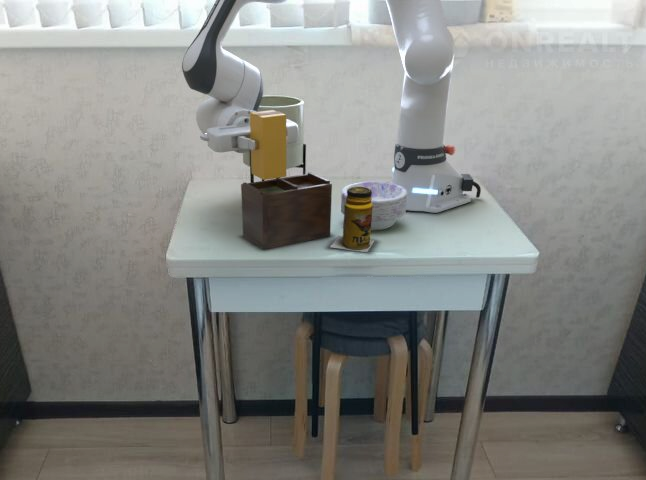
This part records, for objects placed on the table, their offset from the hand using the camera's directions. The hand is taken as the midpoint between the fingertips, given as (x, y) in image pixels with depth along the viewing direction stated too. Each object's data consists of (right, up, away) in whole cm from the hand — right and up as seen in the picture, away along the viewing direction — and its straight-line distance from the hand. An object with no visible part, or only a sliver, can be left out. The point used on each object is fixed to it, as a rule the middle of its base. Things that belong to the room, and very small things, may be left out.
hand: (270, 143), depth 144 cm
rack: (+3, -15, +14) cm, 21 cm away
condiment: (+18, -18, +10) cm, 27 cm away
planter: (0, +2, +37) cm, 37 cm away
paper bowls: (+23, -10, +22) cm, 33 cm away
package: (-1, -5, +5) cm, 7 cm away
